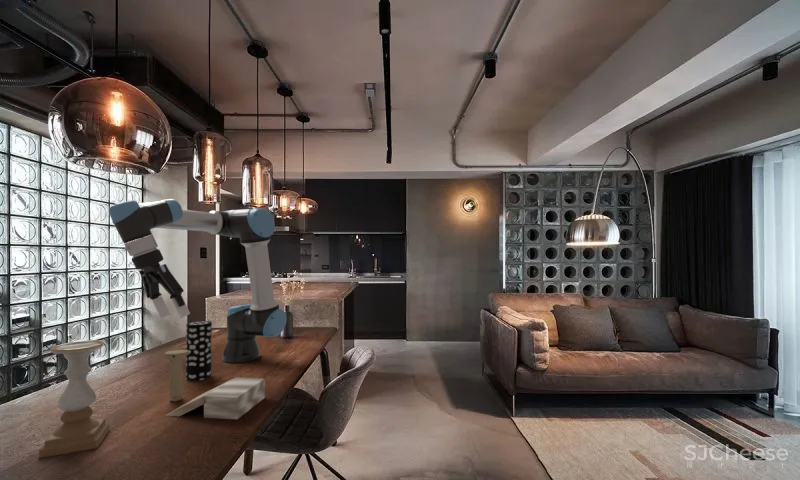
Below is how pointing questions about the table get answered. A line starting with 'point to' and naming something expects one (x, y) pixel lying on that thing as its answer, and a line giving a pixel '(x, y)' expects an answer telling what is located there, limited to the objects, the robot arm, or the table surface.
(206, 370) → the white-spotted black cylinder
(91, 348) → the candle holder
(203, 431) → the table surface
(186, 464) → the table surface
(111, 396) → the table surface
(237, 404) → the ramp bench
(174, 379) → the handle
